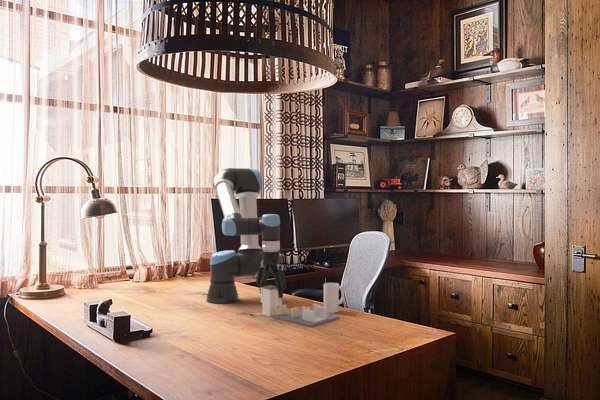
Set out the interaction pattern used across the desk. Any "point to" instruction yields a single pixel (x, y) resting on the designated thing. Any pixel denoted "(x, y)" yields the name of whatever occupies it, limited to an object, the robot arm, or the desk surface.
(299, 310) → the board
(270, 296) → the block
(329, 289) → the mug
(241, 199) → the robot arm
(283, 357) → the desk surface
